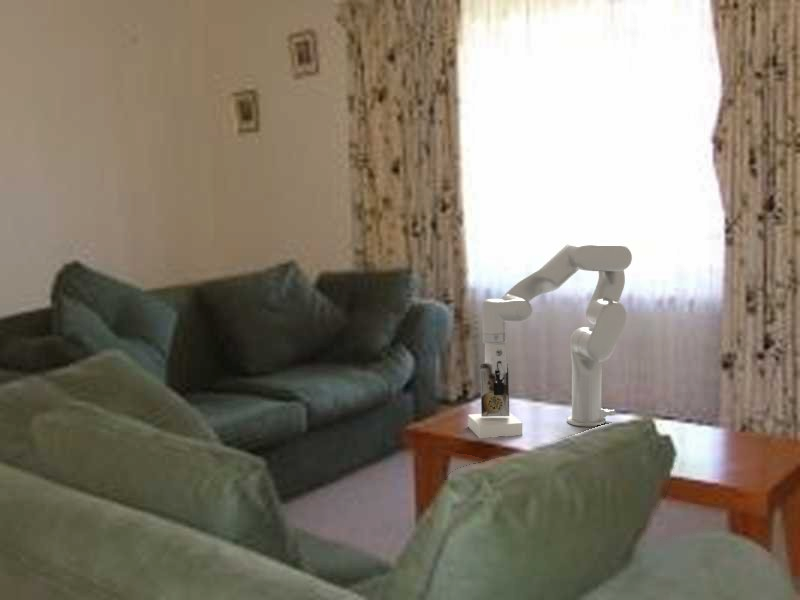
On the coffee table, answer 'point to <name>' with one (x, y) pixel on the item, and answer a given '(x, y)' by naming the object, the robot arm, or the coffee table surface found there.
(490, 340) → the robot arm
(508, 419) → the riser block
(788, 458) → the coffee table surface
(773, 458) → the coffee table surface
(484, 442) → the coffee table surface
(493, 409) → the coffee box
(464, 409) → the coffee table surface
